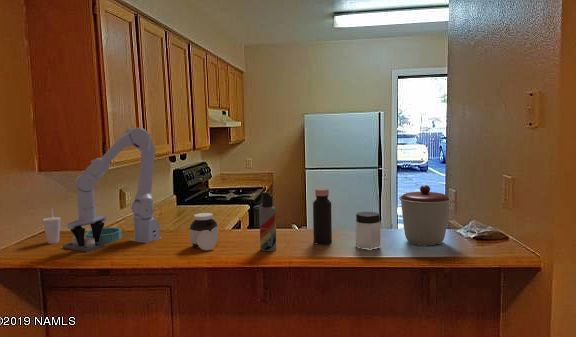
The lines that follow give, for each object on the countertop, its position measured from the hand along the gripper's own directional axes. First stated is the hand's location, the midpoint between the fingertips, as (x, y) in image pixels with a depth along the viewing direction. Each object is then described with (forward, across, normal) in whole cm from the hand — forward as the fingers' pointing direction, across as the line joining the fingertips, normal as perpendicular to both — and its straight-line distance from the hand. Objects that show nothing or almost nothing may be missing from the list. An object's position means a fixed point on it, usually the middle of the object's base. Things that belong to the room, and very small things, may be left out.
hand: (88, 244), depth 156 cm
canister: (+2, -57, +109) cm, 123 cm away
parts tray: (+2, 0, -3) cm, 4 cm away
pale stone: (+2, 0, 0) cm, 2 cm away
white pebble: (+2, 0, -6) cm, 6 cm away
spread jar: (+2, -20, +38) cm, 43 cm away
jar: (+2, -43, +92) cm, 102 cm away
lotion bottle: (+2, -26, +61) cm, 66 cm away
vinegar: (+2, -42, +75) cm, 86 cm away
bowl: (+2, -11, -6) cm, 13 cm away
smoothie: (+2, 0, -21) cm, 21 cm away
